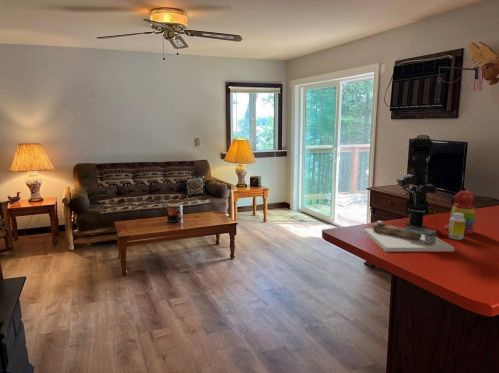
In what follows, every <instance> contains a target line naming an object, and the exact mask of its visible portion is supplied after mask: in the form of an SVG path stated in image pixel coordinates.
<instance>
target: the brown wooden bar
mask: <svg viewBox="0 0 499 373" xmlns="http://www.w3.org/2000/svg"><path fill="white" fill-rule="evenodd" d="M372 226H373V227H372V229H373V230H374V231H376V232H382V233H387V234H392V235H396V236H401V237H405V238H410V239H415V240H418V239H420V238H421V234H417V233H413V232H408V231H404V228H405V227H400V226H395V225H390V224H386V223H383V224H382V225H379V224H377V222H375V223H373V225H372Z"/></svg>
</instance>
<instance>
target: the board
mask: <svg viewBox="0 0 499 373" xmlns="http://www.w3.org/2000/svg"><path fill="white" fill-rule="evenodd" d="M376 223H377V224H379V225H382V224H384V221H382V220H377V221H376ZM363 233H364V234H365V235H367V237H368V238H370V239H371V240H372V241H373V242H375V243H376V244H377V245H378V246H379V247H381V249H383V251H385V252H455V247H454V246H453V245H451V244H450V243H447V242H446V241H444V240H442V239H441V238H439V237H438V236H436V243H434V244H432V245H430V246H429V245H425V244H424V242H425V235H421V238H420V239H418V240H415V239H410V238H405V237H401V236H396V235H392V234H387V233H382V232H376V231H374V230H373V228H363Z"/></svg>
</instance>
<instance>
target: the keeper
mask: <svg viewBox="0 0 499 373" xmlns="http://www.w3.org/2000/svg"><path fill="white" fill-rule="evenodd" d="M403 228H404V231H408V232H413V233H417V234H421V235H425V242H424V244H425V245H429V246H430V245H432V244H434V243H436V237H437V232H438V231H437V230H434V229H429V228H426V227H416V226H411V225H410V226H409V225H406V226H405V227H403Z"/></svg>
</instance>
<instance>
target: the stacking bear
mask: <svg viewBox="0 0 499 373" xmlns="http://www.w3.org/2000/svg"><path fill="white" fill-rule="evenodd" d="M453 199H454V201H455V203H454V204H453V206H452V208H451V211H450V213H449V214H450V217H449V219H450V218H451V217H452V214H453V213H454V212H458V213H463V214H464V219H465V230H464V235H470V234H471V235H472V234H474V228H473V227H474V224H475V222H476V210H475V207H474V205H473V204H472V203H473V202H474V199H475V198H474V194H473V193H472V191H471V190H460V191H458V192H457V193H456V194H455V195H454V196H453ZM443 229H444V230H445V231H448V232H449V224H446V225H444V226H443Z"/></svg>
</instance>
